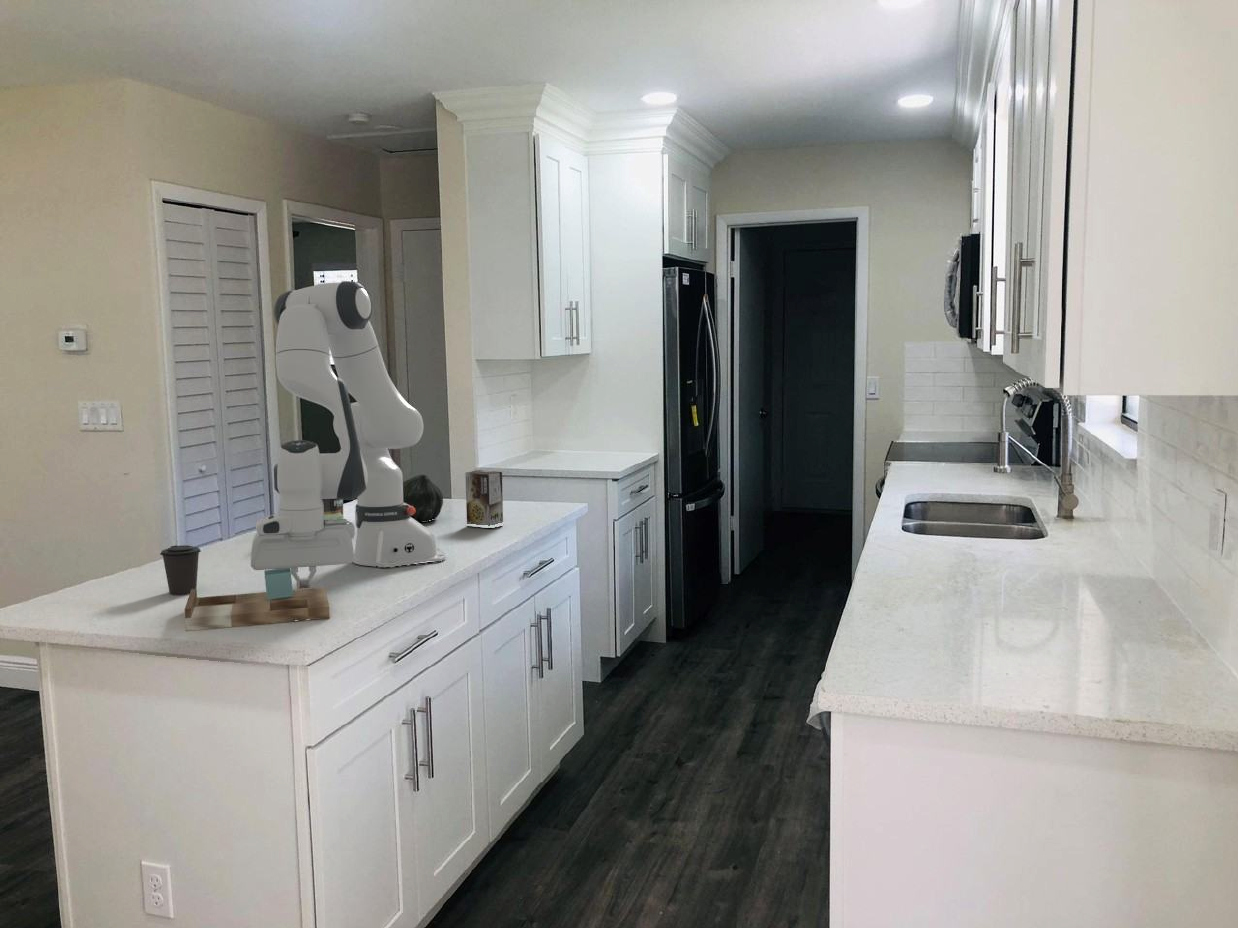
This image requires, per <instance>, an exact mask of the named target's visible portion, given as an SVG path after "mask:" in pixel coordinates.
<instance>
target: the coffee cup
mask: <svg viewBox="0 0 1238 928" xmlns="http://www.w3.org/2000/svg"><path fill="white" fill-rule="evenodd" d="M200 552H202V551H201V549H200V548H199V547H197V546H192V545H187V544H186V545H185V544H184V545H171V546H170V547H168V548H165V549H163V550H161V552H160V553H159V554H160V556H162V558H163V559H162V560H163V563H164V564H163V565H164V570H165V575H166V581H167V588H168V593H169V594H170V595H171V596H185V595H190V592H191V589H197V584H198V570H199V568H198V567H199V557H200V556H199V555H200V554H199V553H200Z"/></svg>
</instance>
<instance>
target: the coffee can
mask: <svg viewBox="0 0 1238 928" xmlns="http://www.w3.org/2000/svg"><path fill="white" fill-rule="evenodd" d="M322 501H323V505H324V520H340V519H345V518H344V500H343V499H337V498H335V499H322ZM336 525H338V524H336ZM324 527H325V525H324Z"/></svg>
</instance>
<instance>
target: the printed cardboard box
mask: <svg viewBox="0 0 1238 928" xmlns="http://www.w3.org/2000/svg"><path fill="white" fill-rule="evenodd" d="M464 475H465V501H466V503H465V504H466V505H465V506H466V507H465V508H466V525H467V524H476V525H488V526H490V525H495V524H498V523H502V522H503V523H504V515H503V514H504V512H503V511H504V509H503V505H504V504H503V501H504V499H503V472H502V471H499V470H498V471H497V470H496V471H495V470H482V469H481V470H480V469H478V470H477V469H476V470H472V471H467V472H465V474H464Z"/></svg>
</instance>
